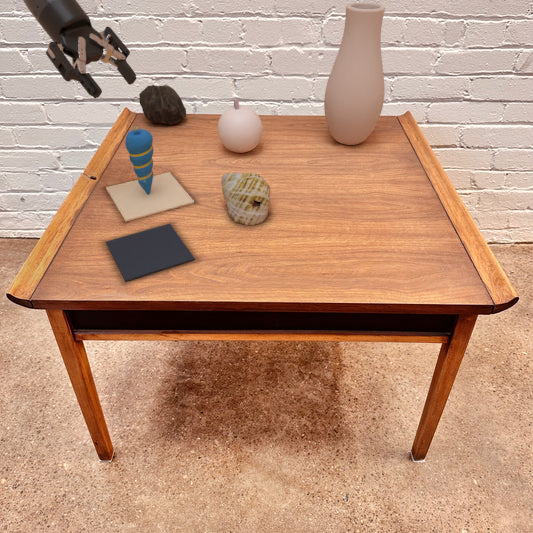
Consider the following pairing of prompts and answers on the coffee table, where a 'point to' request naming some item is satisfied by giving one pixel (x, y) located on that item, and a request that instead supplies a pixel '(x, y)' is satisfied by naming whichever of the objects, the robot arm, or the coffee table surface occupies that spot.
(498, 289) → the coffee table surface
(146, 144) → the ornament
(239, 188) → the seashell
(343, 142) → the vase
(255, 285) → the coffee table surface
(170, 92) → the rock
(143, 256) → the slate mat
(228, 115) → the ornament
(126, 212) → the cream mat
